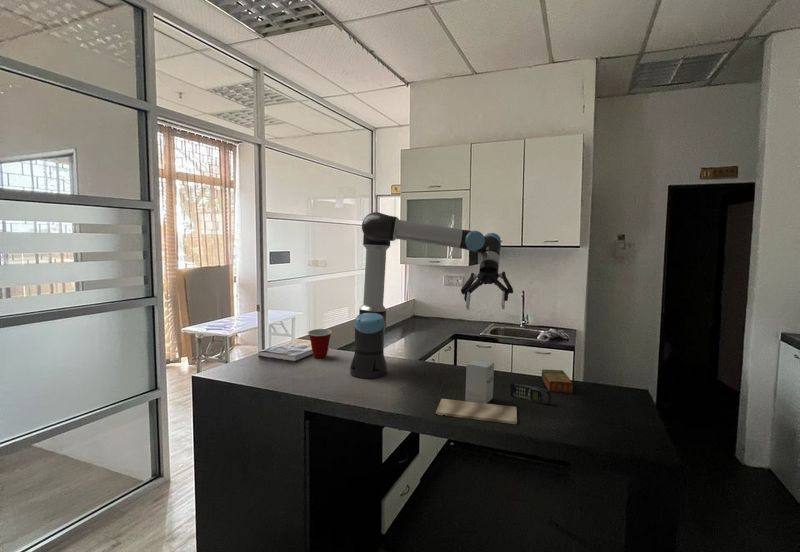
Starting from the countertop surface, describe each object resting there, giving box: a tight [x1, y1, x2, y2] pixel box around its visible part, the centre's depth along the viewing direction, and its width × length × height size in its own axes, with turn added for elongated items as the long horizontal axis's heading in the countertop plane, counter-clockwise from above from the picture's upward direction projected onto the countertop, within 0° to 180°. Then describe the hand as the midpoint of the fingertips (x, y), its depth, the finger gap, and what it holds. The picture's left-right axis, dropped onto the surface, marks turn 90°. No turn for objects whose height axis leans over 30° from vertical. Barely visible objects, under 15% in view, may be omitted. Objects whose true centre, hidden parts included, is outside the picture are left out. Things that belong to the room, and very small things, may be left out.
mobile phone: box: [510, 382, 556, 406], centre depth 143 cm, size 5×3×15 cm
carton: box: [541, 368, 574, 394], centre depth 159 cm, size 8×16×4 cm, turn 171°
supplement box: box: [464, 359, 495, 404], centre depth 142 cm, size 7×7×13 cm
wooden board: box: [435, 398, 518, 425], centre depth 131 cm, size 24×12×1 cm, turn 75°
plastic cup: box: [307, 328, 333, 359], centre depth 192 cm, size 11×11×12 cm
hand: (484, 307), depth 161 cm, fingers open, 13 cm apart
